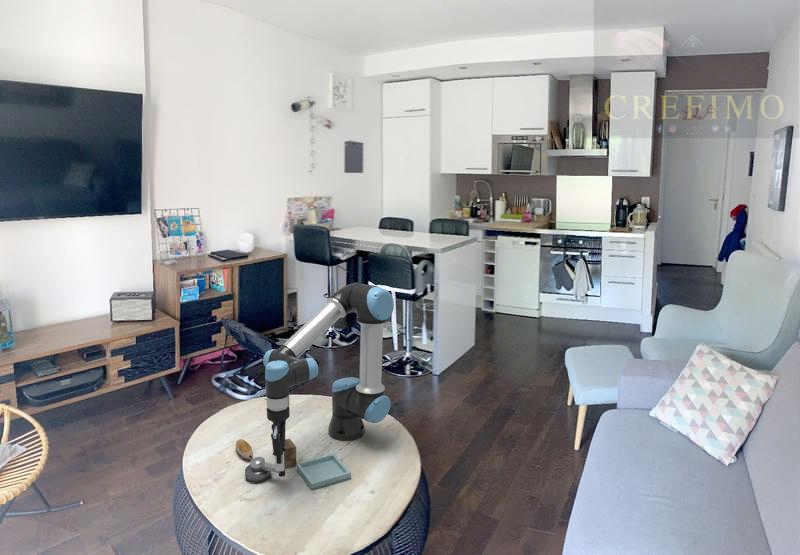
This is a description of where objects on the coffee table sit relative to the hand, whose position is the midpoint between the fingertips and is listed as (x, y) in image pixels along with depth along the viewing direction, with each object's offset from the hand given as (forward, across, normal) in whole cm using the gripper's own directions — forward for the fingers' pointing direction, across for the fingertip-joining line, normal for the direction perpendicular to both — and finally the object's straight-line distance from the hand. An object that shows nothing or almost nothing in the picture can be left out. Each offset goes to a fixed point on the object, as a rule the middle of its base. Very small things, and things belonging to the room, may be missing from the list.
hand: (280, 469), depth 194 cm
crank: (+4, -5, -5) cm, 8 cm away
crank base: (+7, -7, -10) cm, 13 cm away
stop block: (+7, -16, -1) cm, 17 cm away
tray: (+7, -9, +14) cm, 18 cm away
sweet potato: (+7, -22, -19) cm, 30 cm away
